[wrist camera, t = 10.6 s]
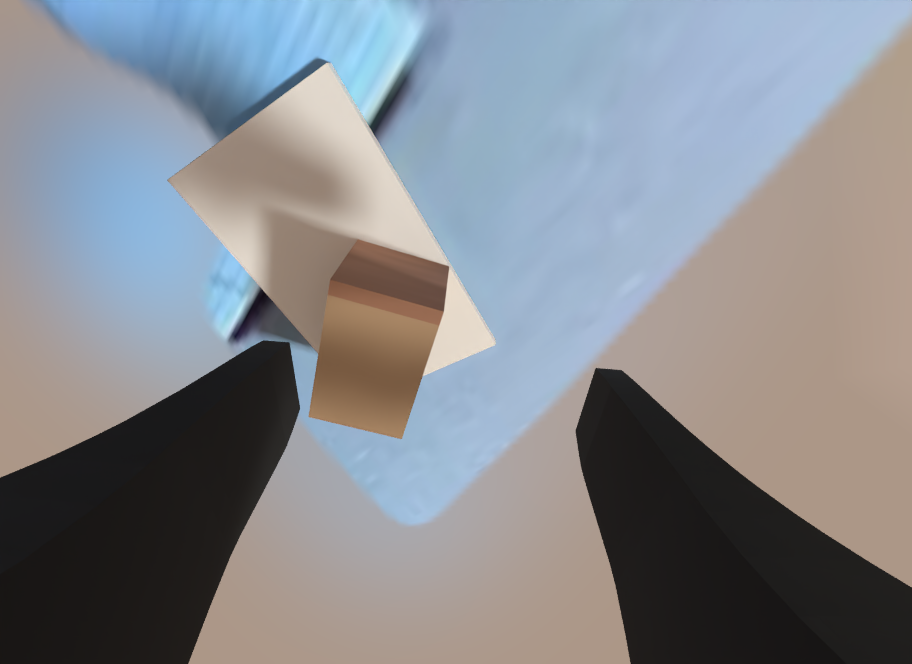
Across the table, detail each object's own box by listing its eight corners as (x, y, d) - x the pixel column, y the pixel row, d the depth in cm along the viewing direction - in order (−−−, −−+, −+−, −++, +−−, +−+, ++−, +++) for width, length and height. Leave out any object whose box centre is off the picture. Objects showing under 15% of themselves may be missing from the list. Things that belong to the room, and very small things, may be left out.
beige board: (174, 177, 17) (167, 180, 16) (331, 63, 15) (327, 62, 14) (363, 396, 23) (361, 402, 22) (495, 339, 20) (495, 344, 20)
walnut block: (412, 380, 21) (401, 438, 18) (335, 360, 21) (308, 416, 17) (449, 266, 18) (443, 311, 14) (357, 239, 17) (330, 279, 14)
